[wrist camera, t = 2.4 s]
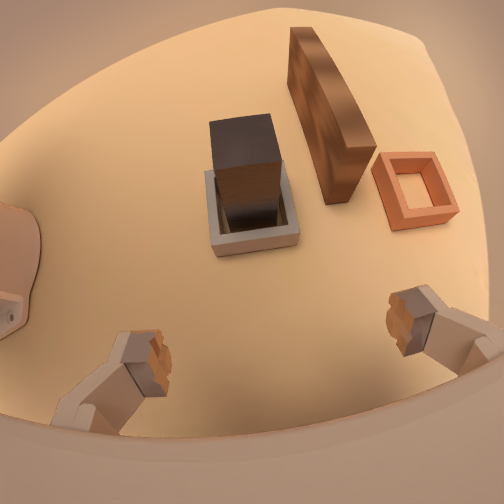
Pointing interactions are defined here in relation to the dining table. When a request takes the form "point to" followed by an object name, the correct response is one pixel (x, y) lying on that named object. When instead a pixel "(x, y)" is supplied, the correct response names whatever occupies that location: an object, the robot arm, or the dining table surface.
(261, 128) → the bar
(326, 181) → the door panel
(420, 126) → the dining table surface
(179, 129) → the dining table surface
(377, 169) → the frame
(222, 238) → the frame
